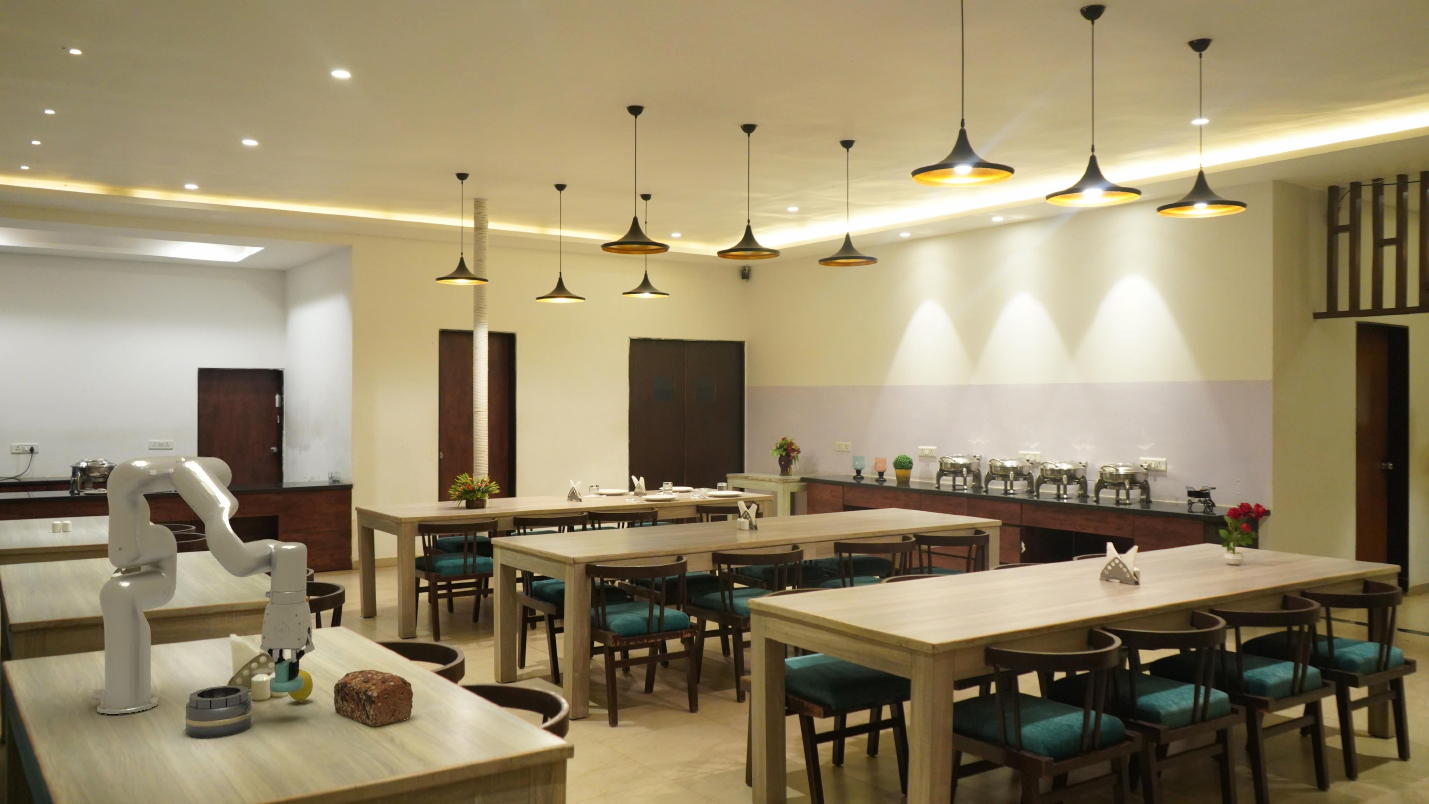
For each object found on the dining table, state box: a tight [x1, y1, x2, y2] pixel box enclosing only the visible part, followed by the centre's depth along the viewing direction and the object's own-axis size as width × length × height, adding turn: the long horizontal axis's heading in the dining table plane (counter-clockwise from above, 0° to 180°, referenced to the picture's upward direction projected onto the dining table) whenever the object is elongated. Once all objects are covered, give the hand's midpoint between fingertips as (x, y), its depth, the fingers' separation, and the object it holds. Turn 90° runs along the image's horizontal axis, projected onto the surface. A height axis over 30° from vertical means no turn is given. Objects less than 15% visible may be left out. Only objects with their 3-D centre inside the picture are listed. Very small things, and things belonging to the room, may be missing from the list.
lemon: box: [288, 668, 314, 704], centre depth 247 cm, size 6×6×8 cm
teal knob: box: [269, 657, 303, 693], centre depth 234 cm, size 7×7×6 cm
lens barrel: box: [185, 685, 253, 739], centre depth 227 cm, size 13×13×8 cm
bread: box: [333, 669, 414, 727], centre depth 236 cm, size 19×11×10 cm, turn 46°
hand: (286, 677), depth 234 cm, fingers closed on teal knob
